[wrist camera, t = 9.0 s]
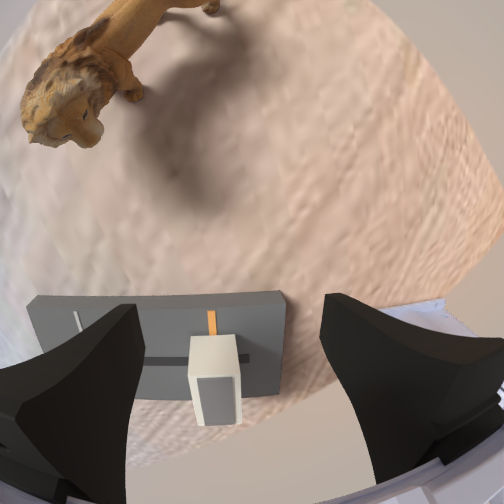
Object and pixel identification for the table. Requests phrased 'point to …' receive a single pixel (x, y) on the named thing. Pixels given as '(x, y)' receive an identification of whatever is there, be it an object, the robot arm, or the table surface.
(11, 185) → the table surface
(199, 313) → the fader console
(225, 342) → the fader knob
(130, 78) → the lion figurine
